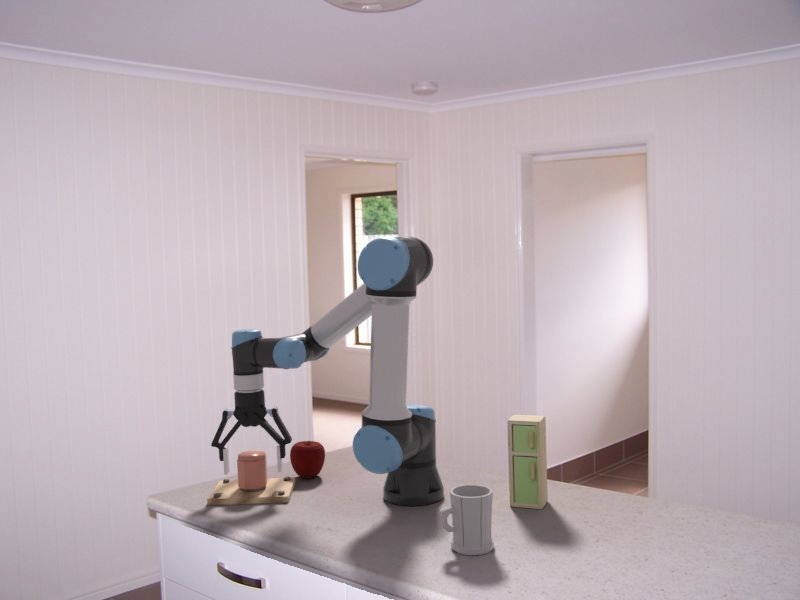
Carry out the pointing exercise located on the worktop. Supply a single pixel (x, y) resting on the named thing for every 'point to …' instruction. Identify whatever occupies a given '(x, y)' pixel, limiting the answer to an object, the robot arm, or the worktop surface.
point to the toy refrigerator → (527, 461)
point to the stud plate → (252, 492)
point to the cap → (252, 469)
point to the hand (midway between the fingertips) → (253, 472)
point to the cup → (469, 519)
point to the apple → (307, 458)
